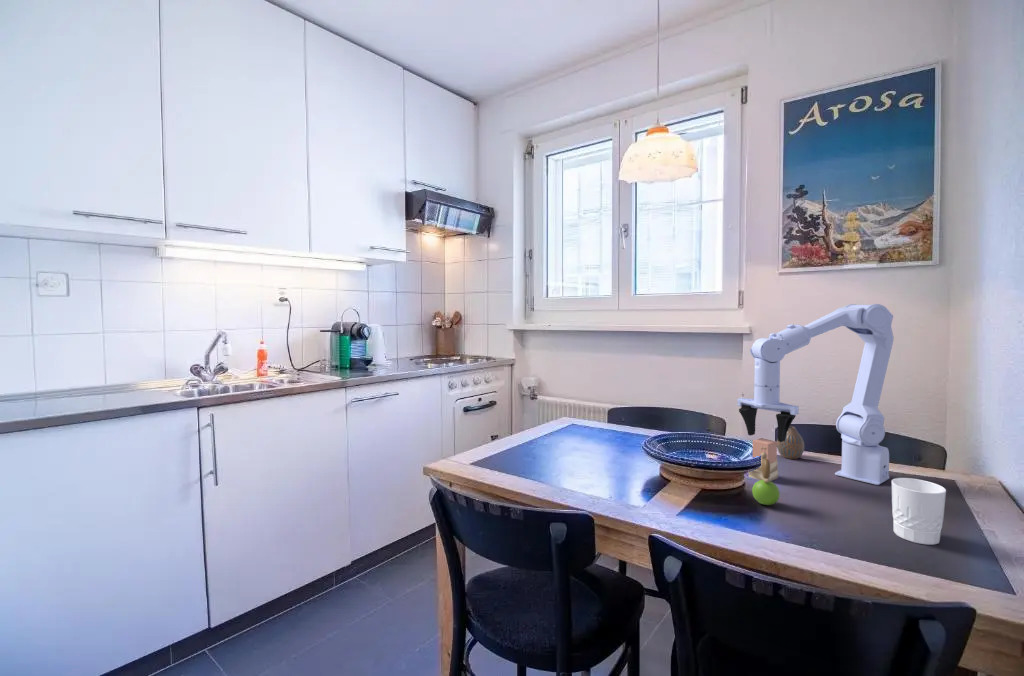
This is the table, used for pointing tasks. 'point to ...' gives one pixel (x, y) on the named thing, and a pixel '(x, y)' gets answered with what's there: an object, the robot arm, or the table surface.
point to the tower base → (759, 475)
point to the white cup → (918, 510)
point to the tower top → (772, 467)
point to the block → (770, 450)
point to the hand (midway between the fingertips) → (766, 437)
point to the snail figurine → (765, 484)
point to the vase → (791, 444)
